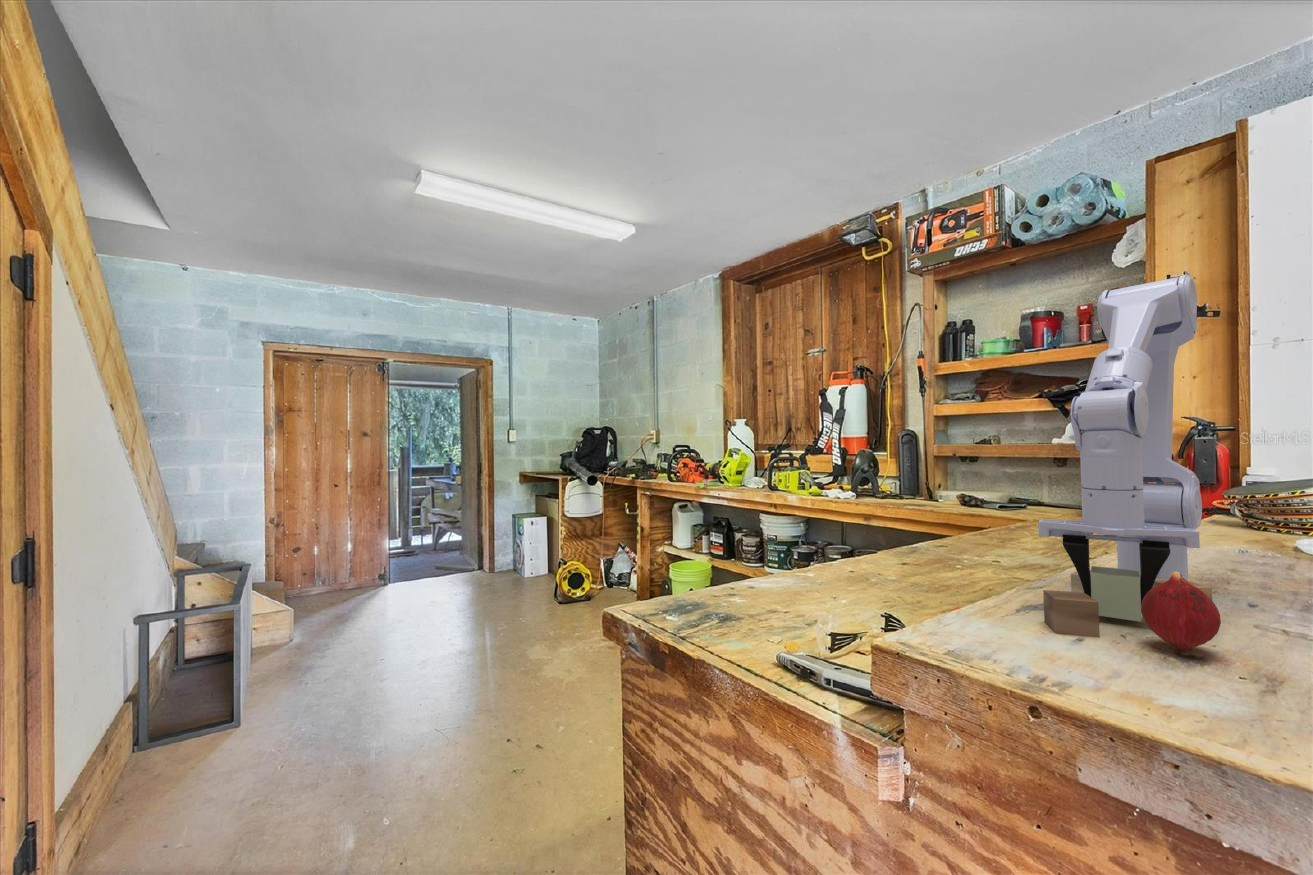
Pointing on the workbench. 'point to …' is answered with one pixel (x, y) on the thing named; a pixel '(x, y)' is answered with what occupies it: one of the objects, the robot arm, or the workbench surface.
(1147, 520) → the robot arm
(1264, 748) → the workbench surface
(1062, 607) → the walnut block
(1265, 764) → the workbench surface
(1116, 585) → the sage block
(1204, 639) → the onion
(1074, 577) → the maple block
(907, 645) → the workbench surface
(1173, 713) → the workbench surface
